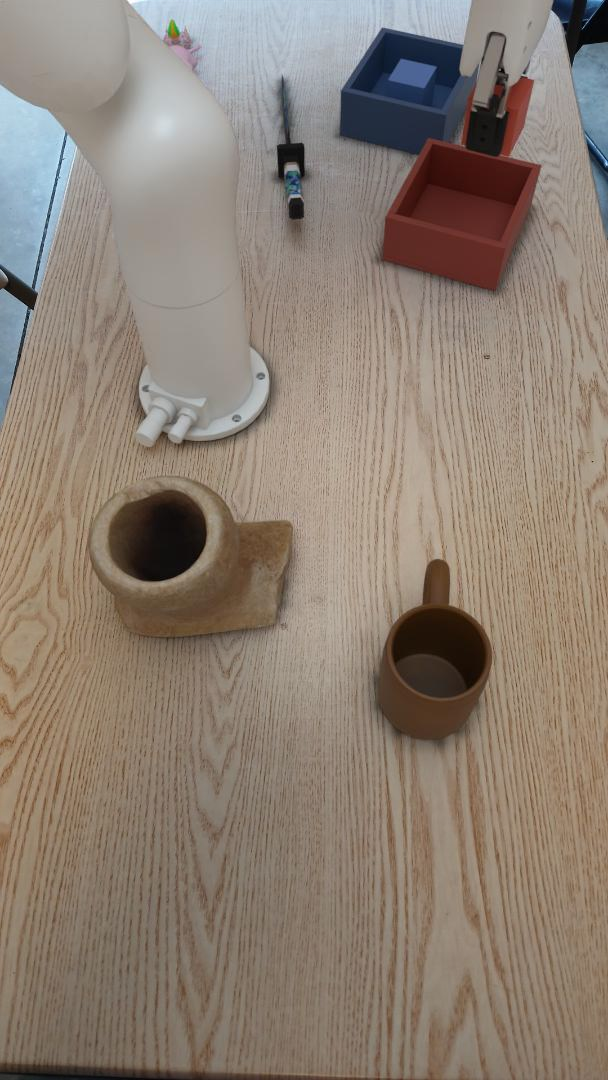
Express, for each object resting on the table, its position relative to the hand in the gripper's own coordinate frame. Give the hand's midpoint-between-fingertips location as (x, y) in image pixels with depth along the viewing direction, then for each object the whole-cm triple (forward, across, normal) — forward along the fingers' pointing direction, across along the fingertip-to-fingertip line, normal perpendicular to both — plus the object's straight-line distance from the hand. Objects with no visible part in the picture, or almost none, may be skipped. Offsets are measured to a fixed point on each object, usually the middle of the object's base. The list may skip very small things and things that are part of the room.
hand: (492, 132), depth 75 cm
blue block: (+15, -22, -15) cm, 31 cm away
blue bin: (+16, -22, -15) cm, 31 cm away
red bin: (+16, -4, -3) cm, 16 cm away
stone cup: (+15, +46, -7) cm, 49 cm away
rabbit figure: (+16, -18, -45) cm, 51 cm away
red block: (0, 0, 0) cm, 0 cm away
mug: (+15, +44, +12) cm, 49 cm away
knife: (+16, -9, -25) cm, 30 cm away
